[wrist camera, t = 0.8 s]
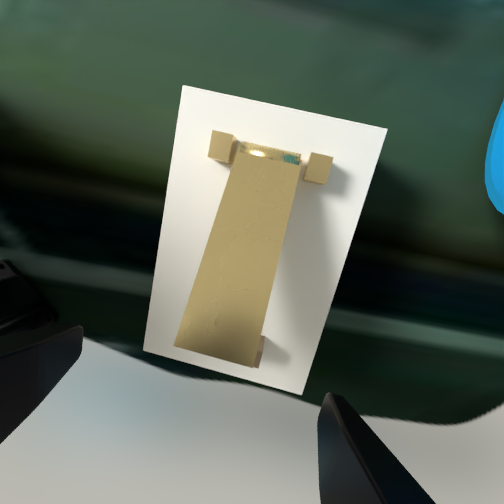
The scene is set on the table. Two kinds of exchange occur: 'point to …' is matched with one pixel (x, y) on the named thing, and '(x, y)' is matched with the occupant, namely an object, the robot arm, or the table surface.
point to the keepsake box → (297, 231)
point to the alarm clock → (496, 163)
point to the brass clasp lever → (241, 256)
